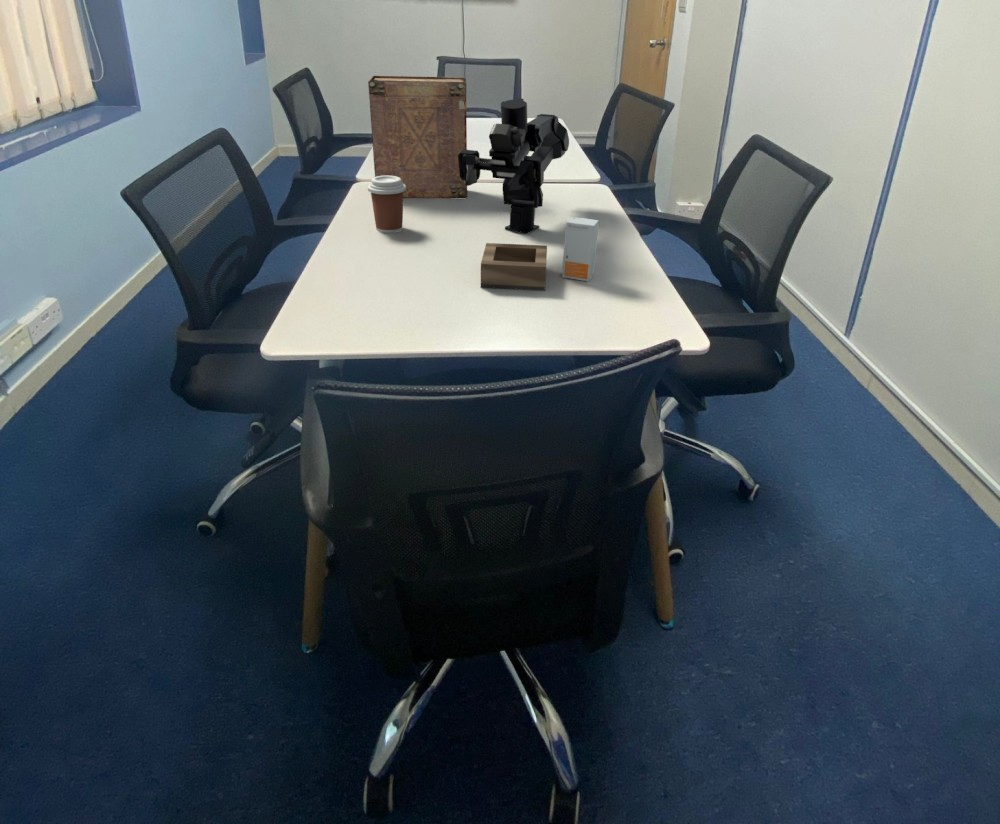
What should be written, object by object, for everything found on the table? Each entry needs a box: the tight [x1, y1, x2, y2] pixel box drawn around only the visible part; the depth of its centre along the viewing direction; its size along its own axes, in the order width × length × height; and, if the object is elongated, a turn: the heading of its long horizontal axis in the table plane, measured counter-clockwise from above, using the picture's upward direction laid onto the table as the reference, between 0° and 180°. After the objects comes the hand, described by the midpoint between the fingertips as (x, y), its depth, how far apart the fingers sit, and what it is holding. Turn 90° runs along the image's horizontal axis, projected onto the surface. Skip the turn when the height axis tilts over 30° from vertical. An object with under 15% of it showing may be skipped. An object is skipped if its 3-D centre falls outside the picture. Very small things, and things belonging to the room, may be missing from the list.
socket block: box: [480, 242, 548, 292], centre depth 149 cm, size 13×13×5 cm
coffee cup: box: [367, 175, 406, 234], centre depth 174 cm, size 9×9×12 cm
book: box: [367, 75, 468, 199], centre depth 197 cm, size 25×9×30 cm, turn 93°
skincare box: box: [561, 216, 600, 283], centre depth 149 cm, size 6×4×12 cm
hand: (487, 185), depth 150 cm, fingers open, 9 cm apart
